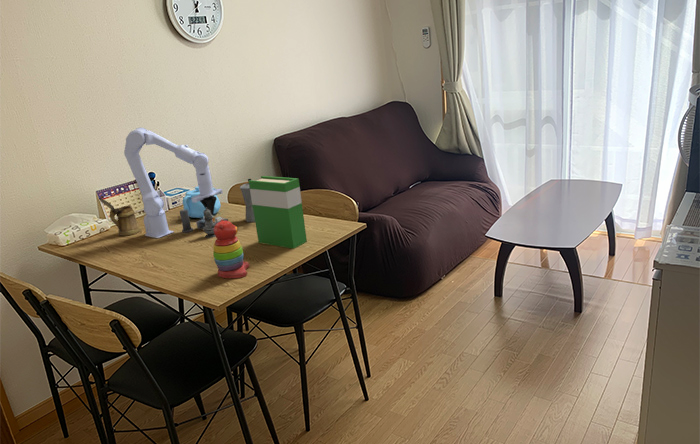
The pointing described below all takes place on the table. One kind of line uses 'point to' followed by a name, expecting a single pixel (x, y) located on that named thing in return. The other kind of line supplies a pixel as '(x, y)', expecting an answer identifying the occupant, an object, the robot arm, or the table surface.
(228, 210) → the table surface
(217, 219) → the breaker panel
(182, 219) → the post
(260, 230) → the hardback book
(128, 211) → the wooden mug
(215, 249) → the stacking bear
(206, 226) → the grey tall lumpy piece
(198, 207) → the decorative pot
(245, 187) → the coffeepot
